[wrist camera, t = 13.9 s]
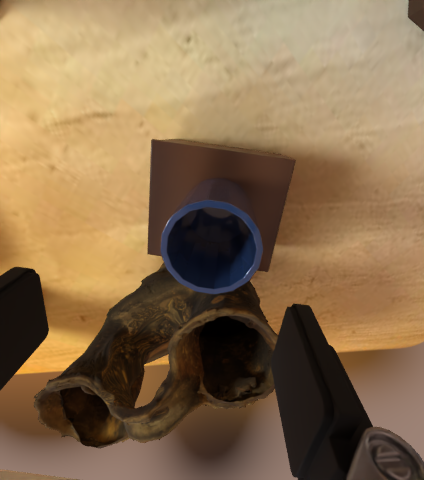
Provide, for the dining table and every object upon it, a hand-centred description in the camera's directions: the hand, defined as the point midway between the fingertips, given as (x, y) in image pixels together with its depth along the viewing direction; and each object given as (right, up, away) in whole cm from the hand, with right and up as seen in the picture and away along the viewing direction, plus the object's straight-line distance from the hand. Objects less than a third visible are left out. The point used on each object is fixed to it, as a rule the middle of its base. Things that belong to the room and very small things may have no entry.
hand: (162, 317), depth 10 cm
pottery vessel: (-2, -4, +28) cm, 29 cm away
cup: (+2, +6, +15) cm, 17 cm away
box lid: (+2, +6, +16) cm, 17 cm away
